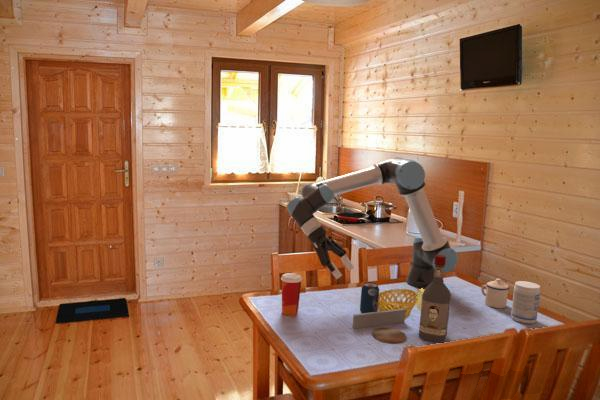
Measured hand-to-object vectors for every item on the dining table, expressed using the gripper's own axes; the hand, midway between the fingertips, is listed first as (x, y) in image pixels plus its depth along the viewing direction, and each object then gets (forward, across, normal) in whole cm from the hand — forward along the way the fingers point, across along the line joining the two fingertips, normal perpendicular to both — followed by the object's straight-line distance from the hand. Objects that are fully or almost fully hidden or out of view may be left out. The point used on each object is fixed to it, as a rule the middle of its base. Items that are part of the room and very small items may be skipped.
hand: (346, 273), depth 210 cm
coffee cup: (-1, +17, -22) cm, 27 cm away
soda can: (+18, 0, -3) cm, 18 cm away
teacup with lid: (+47, -42, +26) cm, 69 cm away
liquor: (+37, +9, +16) cm, 41 cm away
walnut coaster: (+27, +16, +7) cm, 33 cm away
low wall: (+23, +8, +2) cm, 24 cm away
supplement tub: (+57, -30, +36) cm, 73 cm away
